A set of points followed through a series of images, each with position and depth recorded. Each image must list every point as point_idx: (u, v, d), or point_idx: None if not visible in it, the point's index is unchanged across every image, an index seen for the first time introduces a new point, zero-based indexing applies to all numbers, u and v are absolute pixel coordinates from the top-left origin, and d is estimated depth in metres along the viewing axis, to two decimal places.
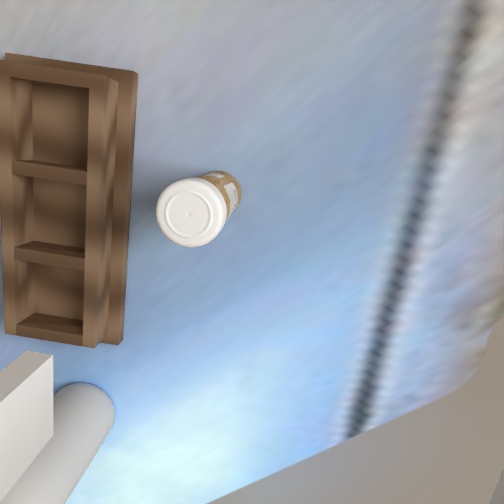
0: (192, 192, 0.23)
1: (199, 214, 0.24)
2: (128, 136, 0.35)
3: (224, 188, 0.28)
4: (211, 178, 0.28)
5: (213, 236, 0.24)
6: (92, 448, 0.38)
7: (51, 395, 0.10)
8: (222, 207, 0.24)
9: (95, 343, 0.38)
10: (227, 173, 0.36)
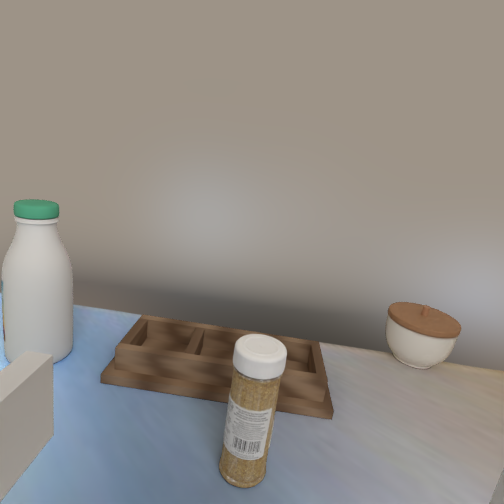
0: (278, 348, 0.31)
1: (263, 350, 0.31)
2: (285, 403, 0.43)
3: (270, 407, 0.31)
4: (276, 403, 0.32)
5: (245, 355, 0.30)
6: (23, 324, 0.43)
7: (51, 395, 0.11)
8: (269, 364, 0.29)
9: (118, 350, 0.44)
10: (264, 473, 0.34)
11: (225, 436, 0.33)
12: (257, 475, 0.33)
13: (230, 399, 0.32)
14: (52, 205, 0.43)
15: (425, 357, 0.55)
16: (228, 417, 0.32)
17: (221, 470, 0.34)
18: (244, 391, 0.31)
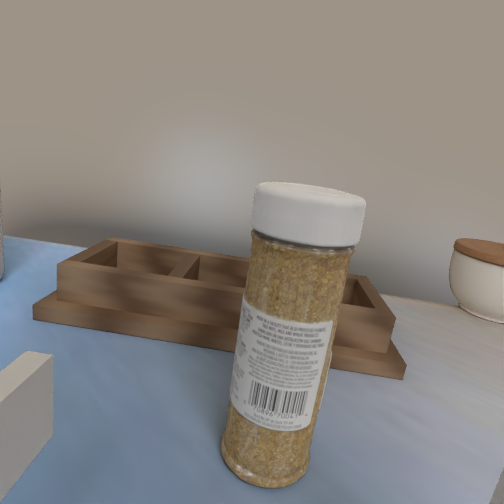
0: (348, 193, 0.15)
1: (317, 191, 0.14)
2: None
3: (330, 317, 0.15)
4: (337, 317, 0.16)
5: (282, 192, 0.13)
6: None
7: (51, 395, 0.11)
8: (335, 208, 0.13)
9: (61, 268, 0.28)
10: (308, 461, 0.18)
11: (233, 385, 0.17)
12: (297, 464, 0.17)
13: (245, 306, 0.16)
14: None
15: None
16: (240, 344, 0.16)
17: (225, 454, 0.17)
18: (276, 279, 0.14)
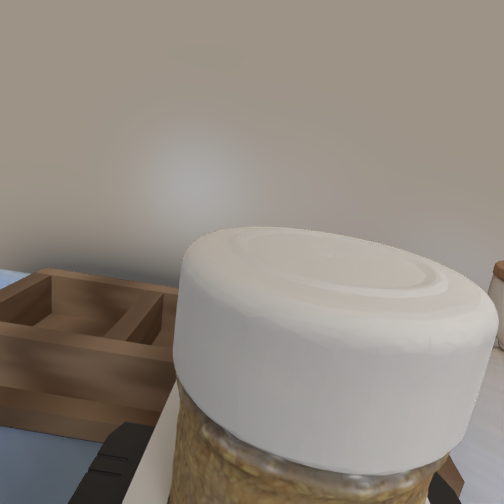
0: (434, 269, 0.05)
1: (353, 272, 0.05)
2: None
3: None
4: None
5: (244, 294, 0.04)
6: None
7: None
8: (433, 358, 0.04)
9: None
10: None
11: None
12: None
13: None
14: None
15: None
16: None
17: None
18: None
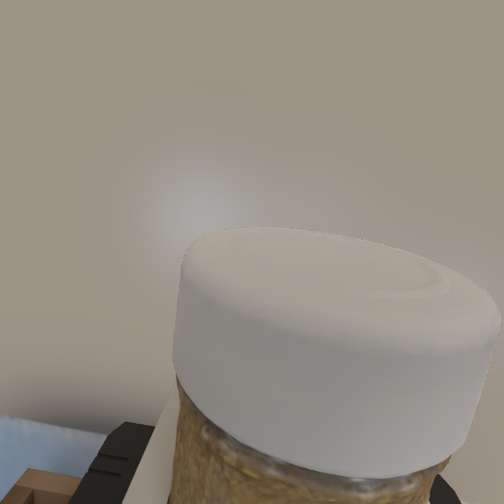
0: (436, 270, 0.05)
1: (355, 273, 0.05)
2: None
3: None
4: None
5: (245, 295, 0.04)
6: None
7: None
8: (436, 360, 0.04)
9: None
10: None
11: None
12: None
13: None
14: None
15: None
16: None
17: None
18: None
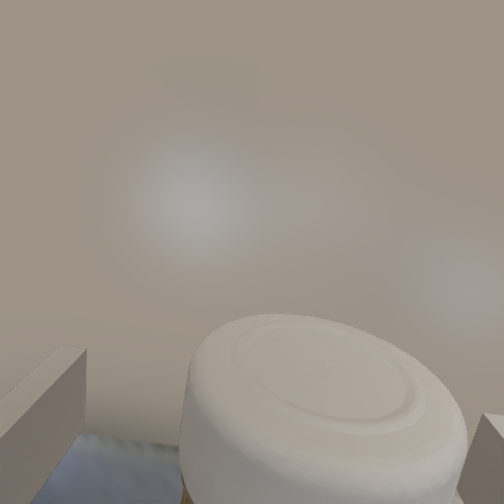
0: (414, 381, 0.06)
1: (341, 392, 0.06)
2: None
3: None
4: None
5: (245, 434, 0.05)
6: None
7: (84, 387, 0.11)
8: (406, 501, 0.04)
9: None
10: None
11: None
12: None
13: None
14: None
15: None
16: None
17: None
18: None
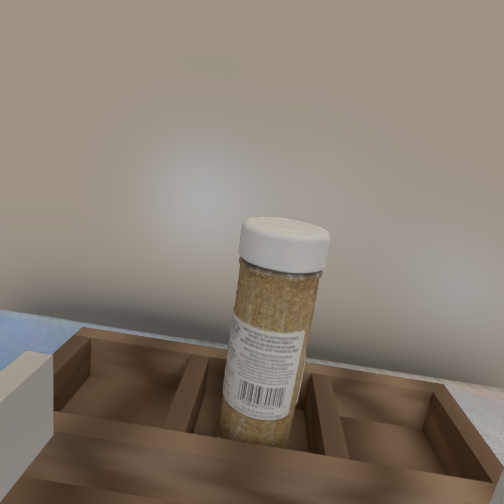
0: (316, 228, 0.18)
1: (291, 228, 0.18)
2: None
3: (302, 328, 0.18)
4: (310, 327, 0.20)
5: (262, 230, 0.17)
6: None
7: (51, 395, 0.10)
8: (303, 243, 0.17)
9: None
10: (288, 446, 0.21)
11: (226, 383, 0.20)
12: (278, 447, 0.20)
13: (234, 318, 0.19)
14: None
15: None
16: (231, 350, 0.20)
17: None
18: (258, 298, 0.18)
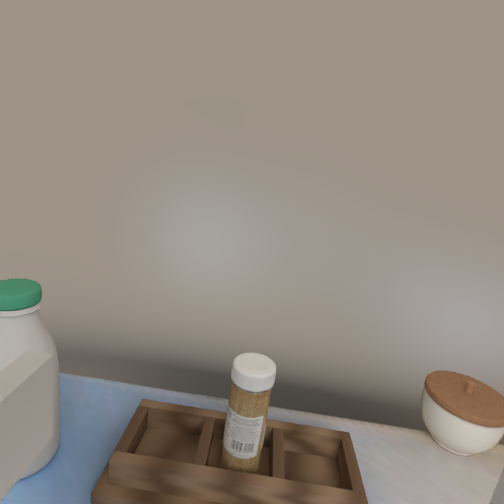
0: (269, 365, 0.38)
1: (256, 367, 0.37)
2: None
3: (262, 414, 0.38)
4: (267, 411, 0.39)
5: (241, 372, 0.36)
6: None
7: (51, 394, 0.11)
8: (260, 379, 0.36)
9: (112, 463, 0.36)
10: (257, 470, 0.41)
11: (224, 438, 0.39)
12: (251, 471, 0.39)
13: (229, 407, 0.38)
14: (32, 290, 0.35)
15: (473, 447, 0.47)
16: (227, 423, 0.39)
17: (221, 467, 0.40)
18: (240, 401, 0.37)
